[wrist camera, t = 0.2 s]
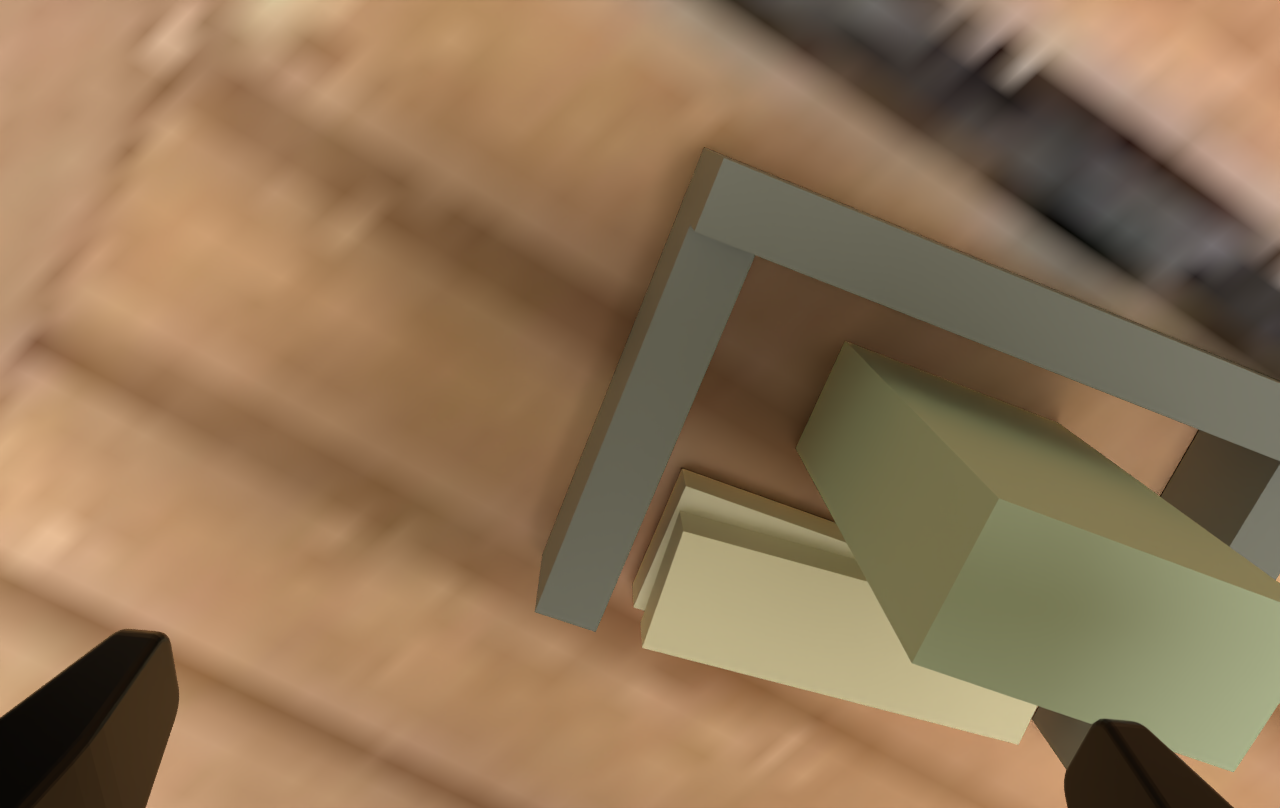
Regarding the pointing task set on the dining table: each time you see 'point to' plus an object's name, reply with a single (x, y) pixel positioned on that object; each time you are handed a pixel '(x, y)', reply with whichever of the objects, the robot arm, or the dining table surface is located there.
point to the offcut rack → (814, 547)
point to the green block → (1041, 561)
